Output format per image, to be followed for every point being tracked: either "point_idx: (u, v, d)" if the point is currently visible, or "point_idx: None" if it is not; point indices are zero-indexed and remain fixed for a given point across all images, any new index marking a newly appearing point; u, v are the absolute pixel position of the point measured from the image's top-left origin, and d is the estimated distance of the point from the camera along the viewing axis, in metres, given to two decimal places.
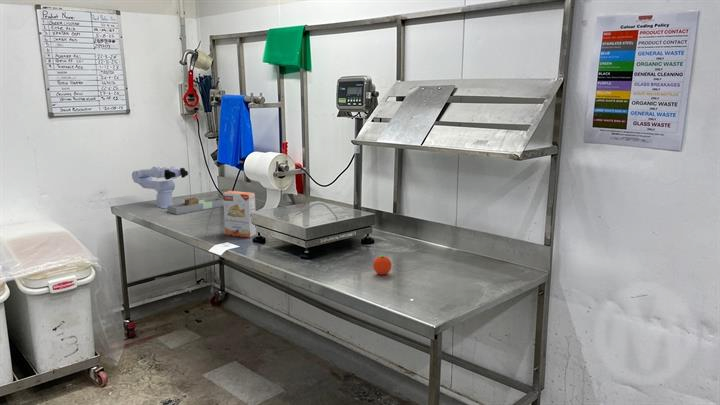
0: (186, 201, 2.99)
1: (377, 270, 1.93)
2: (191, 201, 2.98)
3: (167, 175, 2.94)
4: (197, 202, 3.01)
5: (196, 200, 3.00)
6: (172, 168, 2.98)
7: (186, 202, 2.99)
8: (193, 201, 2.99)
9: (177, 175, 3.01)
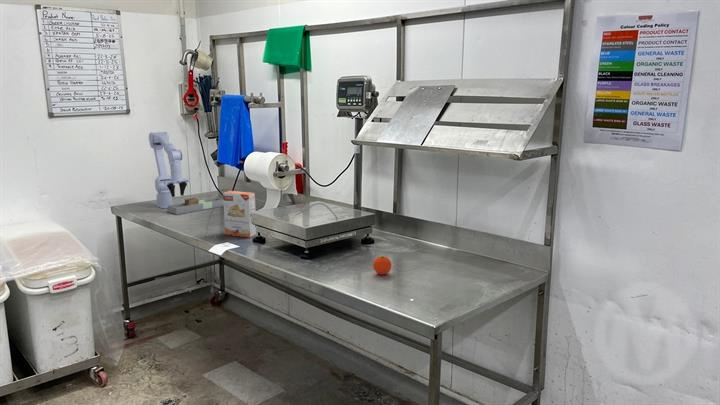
0: (186, 201, 2.99)
1: (377, 270, 1.93)
2: (191, 201, 2.98)
3: None
4: (197, 202, 3.01)
5: (196, 200, 3.00)
6: (179, 181, 2.90)
7: (186, 202, 2.99)
8: (193, 201, 2.99)
9: None
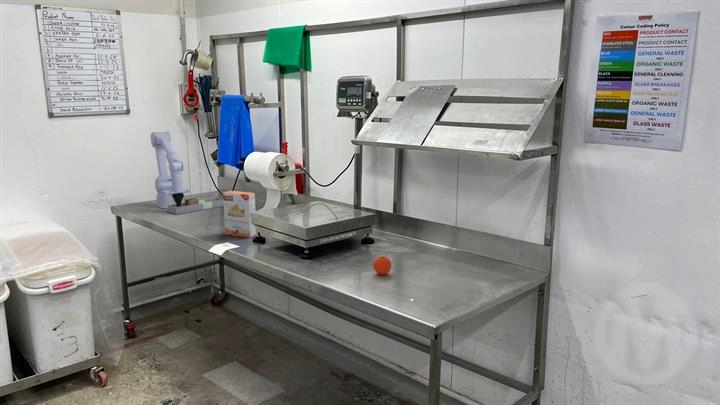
0: (186, 201, 2.99)
1: (377, 270, 1.93)
2: (191, 201, 2.98)
3: None
4: (197, 202, 3.01)
5: (196, 200, 3.00)
6: (180, 192, 2.91)
7: (186, 202, 2.99)
8: (193, 201, 2.99)
9: None
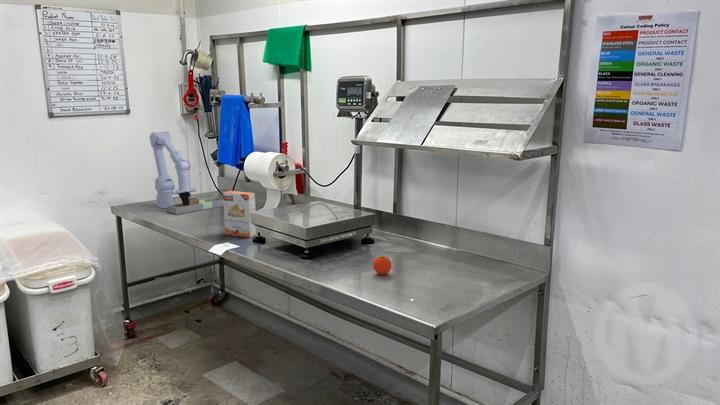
0: None
1: (377, 270, 1.93)
2: (191, 201, 2.98)
3: (181, 194, 2.96)
4: (197, 202, 3.01)
5: (196, 200, 3.00)
6: (186, 191, 2.94)
7: None
8: (193, 201, 2.99)
9: None
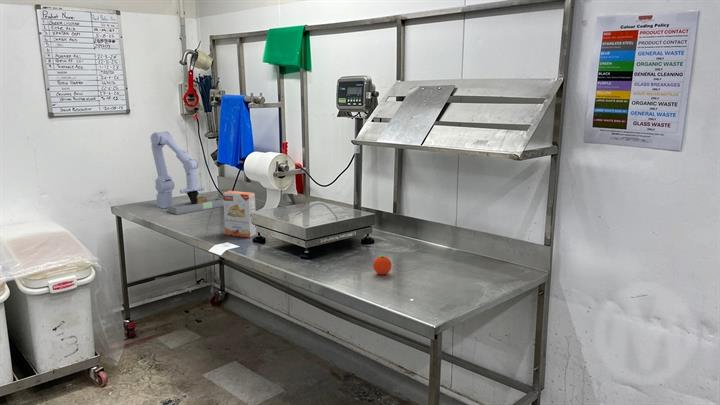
0: None
1: (377, 270, 1.93)
2: (199, 200, 3.02)
3: (190, 193, 3.00)
4: (205, 201, 3.05)
5: (204, 199, 3.04)
6: None
7: None
8: (201, 200, 3.03)
9: None
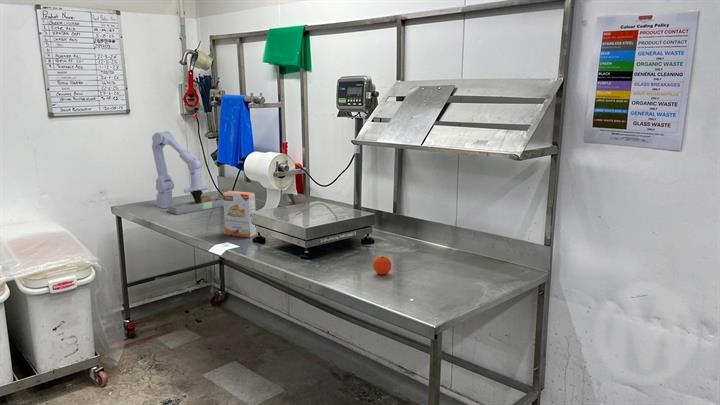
0: None
1: (377, 270, 1.93)
2: (203, 199, 3.04)
3: None
4: (209, 200, 3.07)
5: (208, 198, 3.06)
6: (198, 189, 3.00)
7: None
8: (205, 199, 3.05)
9: None
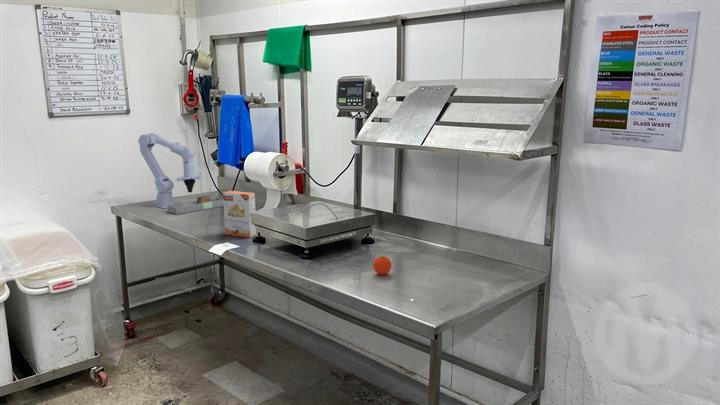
0: (198, 199, 3.05)
1: (377, 270, 1.93)
2: (203, 199, 3.04)
3: (186, 181, 3.04)
4: (209, 200, 3.07)
5: (208, 198, 3.06)
6: (191, 178, 3.02)
7: (199, 200, 3.05)
8: (205, 199, 3.05)
9: None
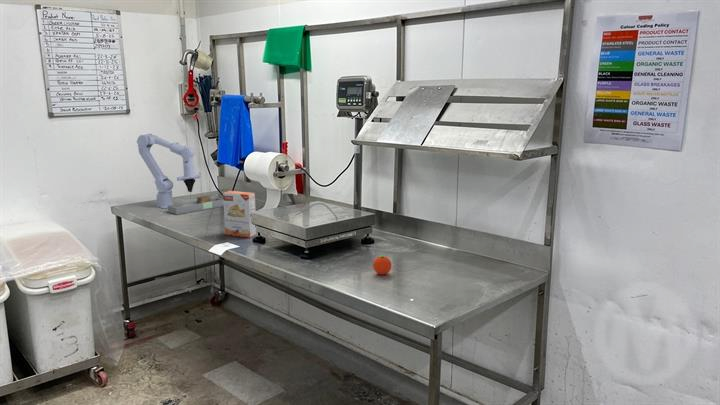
0: (198, 199, 3.05)
1: (377, 270, 1.93)
2: (203, 199, 3.04)
3: None
4: (209, 200, 3.07)
5: (208, 198, 3.06)
6: (191, 178, 3.03)
7: (199, 200, 3.05)
8: (205, 199, 3.05)
9: None
